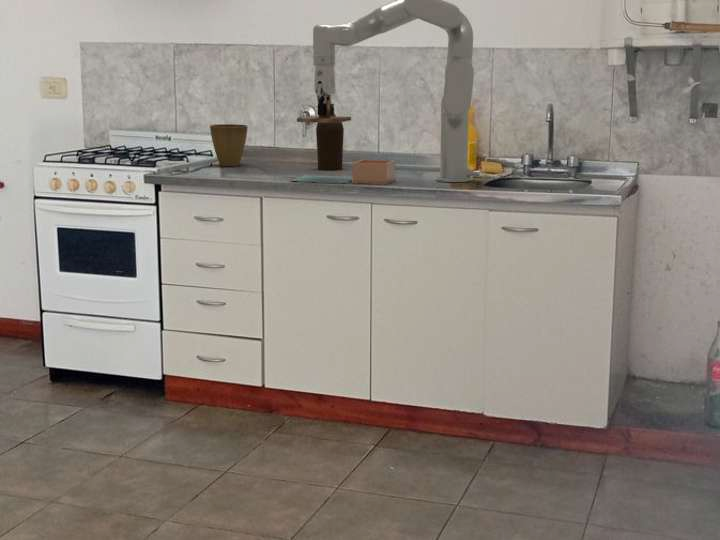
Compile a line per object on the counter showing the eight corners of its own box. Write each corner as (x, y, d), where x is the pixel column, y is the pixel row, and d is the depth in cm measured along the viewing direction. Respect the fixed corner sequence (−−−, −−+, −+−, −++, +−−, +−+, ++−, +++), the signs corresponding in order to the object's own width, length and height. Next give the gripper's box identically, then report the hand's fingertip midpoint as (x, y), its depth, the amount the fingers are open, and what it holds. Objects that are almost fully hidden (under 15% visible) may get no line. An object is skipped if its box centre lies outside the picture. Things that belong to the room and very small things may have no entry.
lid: (351, 120, 372) (351, 99, 370) (338, 122, 358) (338, 101, 356) (310, 119, 376) (310, 99, 374) (296, 121, 362) (296, 100, 360)
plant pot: (204, 167, 414) (203, 126, 411) (219, 163, 428) (218, 123, 425) (240, 168, 410) (239, 126, 407) (254, 164, 424) (253, 124, 421)
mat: (358, 178, 376) (358, 177, 376) (345, 183, 361) (345, 182, 360) (305, 176, 381) (305, 175, 381) (290, 181, 366) (290, 180, 366)
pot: (394, 180, 370) (395, 160, 368) (386, 184, 358) (386, 163, 357) (362, 179, 373) (362, 159, 371) (352, 183, 361) (352, 162, 360)
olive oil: (343, 170, 401) (343, 104, 396) (316, 170, 401) (315, 104, 396) (343, 167, 412) (343, 103, 407) (316, 167, 412) (316, 103, 407)
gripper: (327, 61, 354) (327, 116, 357) (341, 61, 369) (341, 114, 373) (306, 61, 356) (306, 116, 359) (321, 61, 371) (321, 113, 375)
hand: (324, 114), depth 366 cm, fingers closed on lid, 4 cm apart
